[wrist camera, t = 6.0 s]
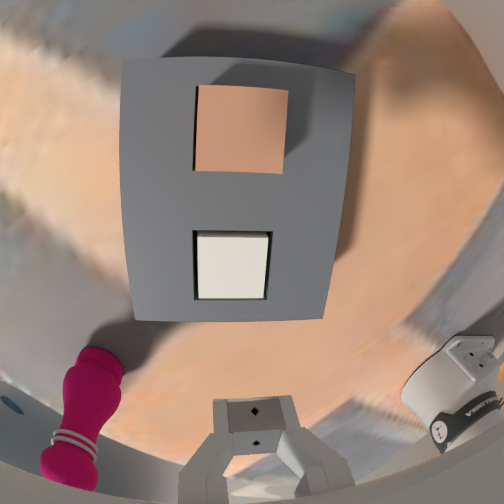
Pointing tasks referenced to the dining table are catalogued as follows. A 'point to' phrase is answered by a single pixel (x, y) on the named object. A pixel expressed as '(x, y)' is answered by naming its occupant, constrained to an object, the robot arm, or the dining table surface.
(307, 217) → the button console
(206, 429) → the dining table surface
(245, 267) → the cream plunger
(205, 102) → the tan cube
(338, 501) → the robot arm
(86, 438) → the pepper mill
